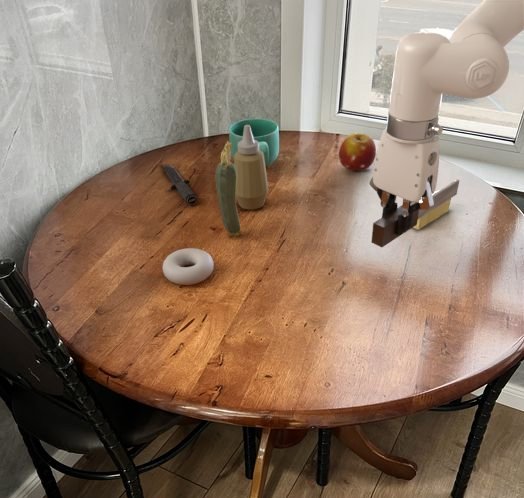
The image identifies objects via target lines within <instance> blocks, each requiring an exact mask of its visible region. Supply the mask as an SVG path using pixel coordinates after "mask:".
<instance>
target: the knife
mask: <svg viewBox="0 0 524 498" xmlns="http://www.w3.org/2000/svg"><path fill="white" fill-rule="evenodd" d="M163 168H164V169H165V173H166V175H167V176H168V178H169V179H170V181H172V182H171V183H172V185H171V186H170V190H172V191H174V190H177V191H178V193H179V195H180V196H181V197H182V199H183V200H185V202H186V204H187V205H188V206H194V205H195V204H197V202H198V197H197V194H195V193H194V192H193V190H192V188H191V187H190V186H189V184H190V180H189V179H183V177H182V176H181V174H180V173H179V172H178V171H177V170H176V168H175V167H174V166H172V165H163Z"/></svg>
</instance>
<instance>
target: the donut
mask: <svg viewBox="0 0 524 498" xmlns="http://www.w3.org/2000/svg"><path fill="white" fill-rule="evenodd" d="M214 266H215V263H214V260H213V257H212V256H211V255H210V254H209V253H208V252H207V251H205V250H202V249H200V248H195V247H189V248H186V247H185V248H181V249H177V250H176V251H173V252H171V253H170V254H169V255H167V257H166V258H165V259H164V260H163V263H162V268H161V269H162V272H163V276H164V277H165V278H166V279H167V280H168V281H170V282H171V283H174V284H176V285H181V286H191V285H192V286H193V285H196V284H200V283H201V282H204V281H205V280H207V279H208V278H209V277H211V274H212V273H213V271H214Z"/></svg>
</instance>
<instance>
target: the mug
mask: <svg viewBox="0 0 524 498" xmlns="http://www.w3.org/2000/svg"><path fill="white" fill-rule="evenodd" d="M245 125H250V128H251V132H252V135H253V139H254V140H257V141H258V142H259V150H260V151H262V152H263V154H264V160H265V167H268V166H270V165H271V164H273V163H275V161H276V160H277V158H278V156H279V154H280V134H279V133H280V132H279V131H280V130H279V129H280V128H279V125H278V123H277V122H275V121H273V120H271V119H266V118H247V119H241V120H238V121H236V122H234V123H232V124H231V125H229V128H228V137H229V142H231V143H232V147H231V148H230V149H231V158H232V159H233V161H234V155H235V153H236V152H237V151H238V142H239V141H241V140H242V139H243V132H244V126H245Z"/></svg>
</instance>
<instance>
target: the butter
mask: <svg viewBox="0 0 524 498" xmlns="http://www.w3.org/2000/svg"><path fill="white" fill-rule="evenodd" d="M436 192H438V190H435V192H434V193H433V194H435V193H436ZM433 194H432V195H433ZM451 200H452V198H450V199H449V200H447V201H446V202H444V203H443V204H441V205H440V206H438V207H437V208H435V209H433V210H432V211H430V212H429V215H428V220H427V225H429V224H430V223H432V222H434V221H435V220H437V219H438V218H440V217H441V216H444V215H445V214H446V213H448V212H449V211H450V207H451V206H450V205H451ZM420 201H422V198H421V200H420Z"/></svg>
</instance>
